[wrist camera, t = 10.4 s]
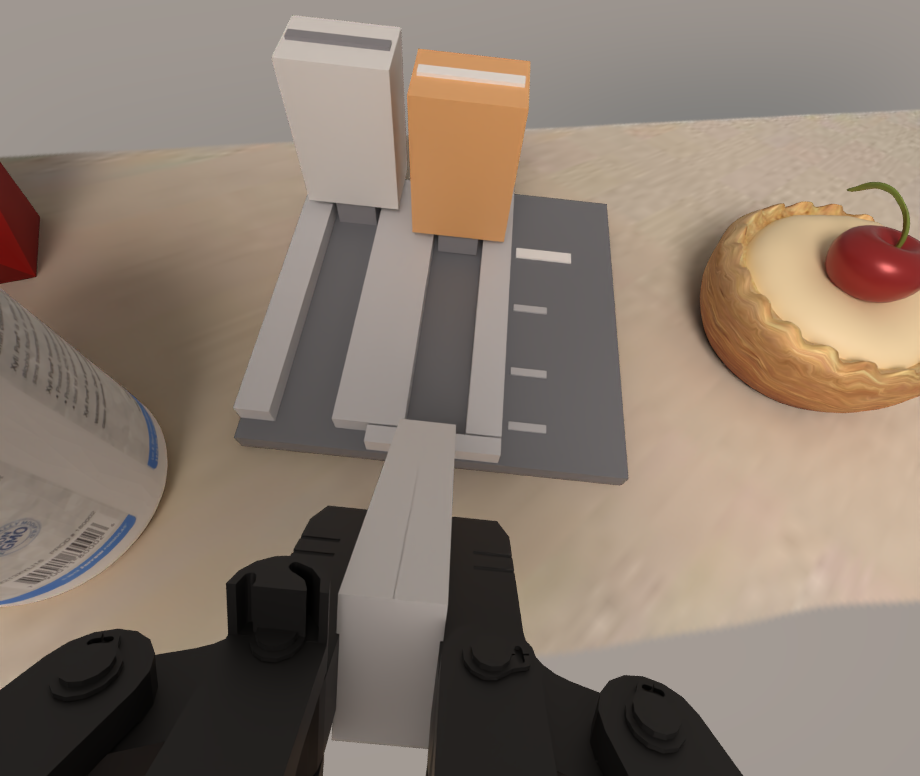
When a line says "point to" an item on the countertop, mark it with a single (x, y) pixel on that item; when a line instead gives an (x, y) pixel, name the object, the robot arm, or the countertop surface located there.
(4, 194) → the french fries
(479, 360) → the console board
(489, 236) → the fader knob
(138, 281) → the countertop surface
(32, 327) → the supplement tub
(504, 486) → the countertop surface
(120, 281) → the countertop surface
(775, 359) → the pastry
